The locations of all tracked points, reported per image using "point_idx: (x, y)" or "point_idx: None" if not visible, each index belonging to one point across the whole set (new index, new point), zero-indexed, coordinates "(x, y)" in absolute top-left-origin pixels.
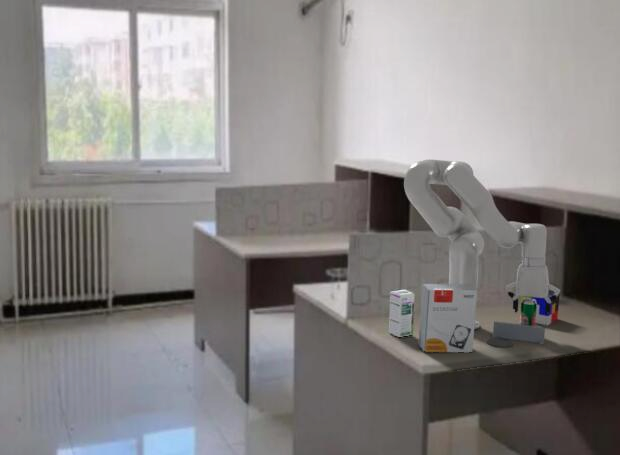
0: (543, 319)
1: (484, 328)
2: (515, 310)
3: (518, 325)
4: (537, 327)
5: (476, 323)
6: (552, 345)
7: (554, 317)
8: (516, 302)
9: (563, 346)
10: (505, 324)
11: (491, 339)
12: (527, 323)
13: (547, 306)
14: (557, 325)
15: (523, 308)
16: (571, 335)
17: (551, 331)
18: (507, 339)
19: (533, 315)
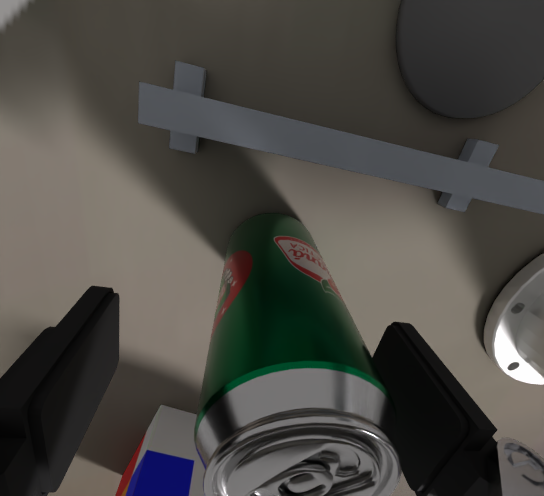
0: (174, 433)
1: (467, 296)
2: (413, 333)
3: (382, 141)
4: (214, 101)
5: (514, 318)
6: (116, 63)
7: (128, 471)
8: (465, 409)
9: (35, 56)
10: (478, 165)
11: (535, 56)
12: (286, 243)
13: (30, 362)
14: (116, 413)
15: (358, 337)
16: (28, 300)
17: (138, 333)
18: (421, 85)
19: (242, 288)
